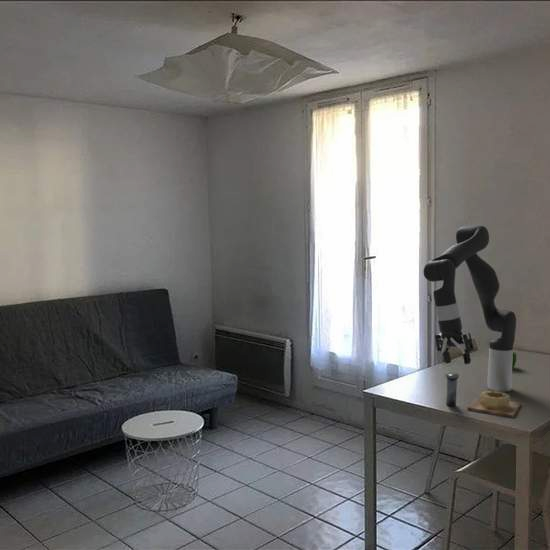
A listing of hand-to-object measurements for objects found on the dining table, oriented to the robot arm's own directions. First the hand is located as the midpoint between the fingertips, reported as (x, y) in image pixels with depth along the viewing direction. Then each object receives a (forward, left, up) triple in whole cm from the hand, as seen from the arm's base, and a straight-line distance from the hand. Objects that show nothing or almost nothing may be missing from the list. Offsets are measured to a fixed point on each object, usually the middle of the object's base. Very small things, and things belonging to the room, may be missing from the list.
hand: (457, 363), depth 205 cm
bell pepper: (-66, +56, -22) cm, 89 cm away
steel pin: (-19, +7, -22) cm, 30 cm away
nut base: (-14, +22, -22) cm, 34 cm away
